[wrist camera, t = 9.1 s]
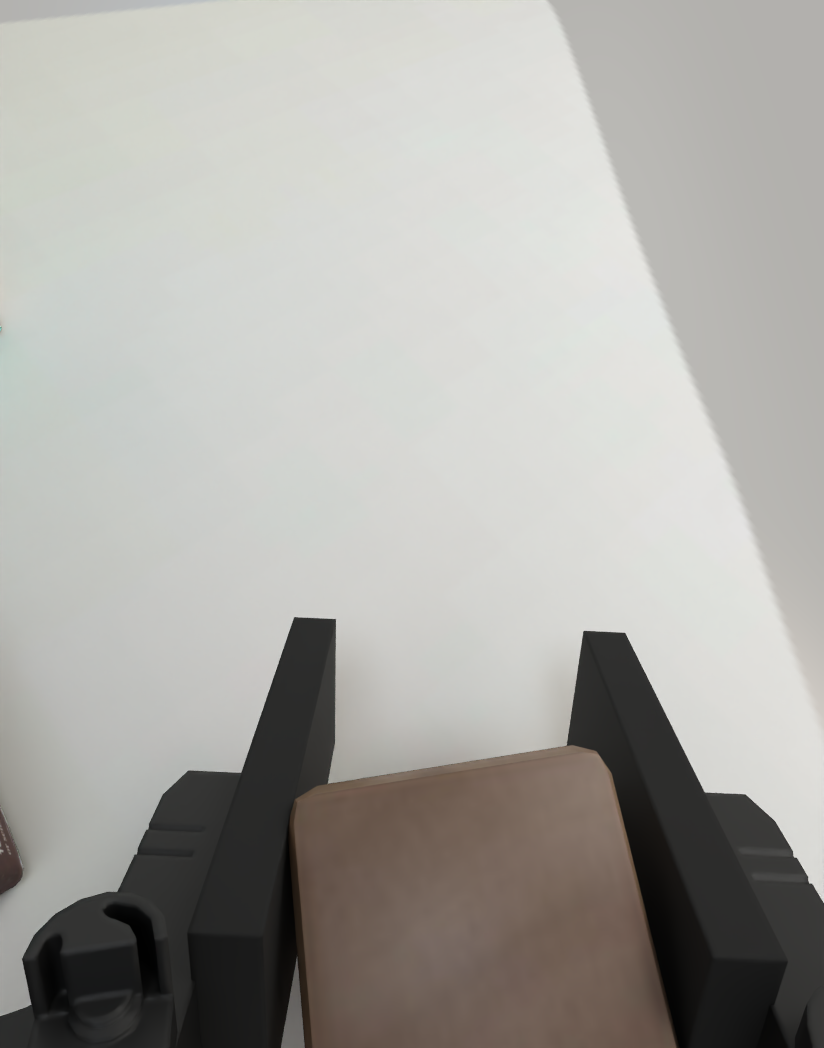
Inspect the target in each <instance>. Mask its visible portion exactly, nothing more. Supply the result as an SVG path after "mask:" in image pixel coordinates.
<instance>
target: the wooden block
mask: <svg viewBox="0 0 824 1048" xmlns="http://www.w3.org/2000/svg"><path fill="white" fill-rule="evenodd" d="M288 844H289V856H290V869H291V881H292V894H293V906H294V918H295V931H296V943H297V956H298V968H299V981H300V993H301V1006H302V1018H303V1031H304V1043H305V1048H679V1044H678V1040H677V1036H676V1032H675V1028H674V1024H673V1020H672V1016H671V1012H670V1008H669V1004H668V1000H667V996H666V992H665V987H664V983H663V979H662V975H661V971H660V967H659V963H658V959H657V955H656V951H655V947H654V943H653V939H652V935H651V931H650V927H649V923H648V919H647V915H646V911H645V907H644V903H643V899H642V895H641V891H640V886H639V882H638V878H637V874H636V870H635V866H634V862H633V858H632V854H631V850H630V846H629V842H628V838H627V834H626V830H625V826H624V822H623V818H622V814H621V810H620V806H619V802H618V798H617V794H616V790H615V785H614V781H613V777H612V773H611V772H610V770H609V769H608V767H607V766H606V764H605V763H604V761H603V760H602V759H601V757H600V756H599V754H598V753H597V751H594V750H590V749H586V748H582V747H578V746H574V745H570V746H564V747H558V748H551V749H545V750H539V751H532V752H526V753H520V754H514V755H507V756H501V757H495V758H488V759H482V760H476V761H470V762H463V763H457V764H451V765H444V766H438V767H432V768H426V769H419V770H413V771H407V772H400V773H394V774H388V775H382V776H375V777H369V778H363V779H357V780H350V781H344V782H338V783H331V784H325V785H319V786H316V787H314V788H313V789H311V790H310V791H308V792H306V793H305V794H303V795H301V796H300V797H298V798H297V799H295V801H294V804H293V808H292V811H291V814H290V820H289V828H288Z"/></svg>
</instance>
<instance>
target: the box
mask: <svg viewBox="0 0 824 1048" xmlns="http://www.w3.org/2000/svg"><path fill="white" fill-rule="evenodd" d="M23 869H24V868H23V863H22V861H21V858H20V855H19V852H18V849H17V847H16V845H15V842H14V840H13V837H12V834H11V831H10V828H9V825H8V823H7V821H6V818H5V815H4V813H3V811H2V808H1V806H0V894H2V893H3V892H5V891H6V890H8V889H10V888H13V887H14V886H15V885H16V884H17V883H18V882H19V881H20V880H21V877H22V874H23Z"/></svg>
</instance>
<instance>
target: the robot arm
mask: <svg viewBox="0 0 824 1048" xmlns="http://www.w3.org/2000/svg"><path fill="white" fill-rule="evenodd" d="M335 651H336V619H319V618H298V617H294V620H293V623H292V625H291V628H290V631H289V634H288V637H287V640H286V643H285V646H284V649H283V652H282V655H281V658H280V661H279V664H278V667H277V670H276V673H275V675H274V678H273V681H272V684H271V687H270V690H269V693H268V696H267V699H266V702H265V705H264V708H263V711H262V714H261V717H260V720H259V722H258V725H257V728H256V731H255V734H254V737H253V740H252V743H251V746H250V749H249V752H248V755H247V758H246V761H245V764H244V767H243V770H242V772H241V773H228V772H207V771H188V772H186V773H185V774H184V775H183V776H182V777H181V778H180V779H179V780H178V781H177V782H176V783H175V784H174V785H173V786H172V787H171V788H169V789H168V790H167V791H166V792H165V793H164V794H163V795H162V798H161V800H160V802H159V804H158V806H157V808H156V810H155V813H154V815H153V817H152V819H151V821H150V823H149V829H148V830H146V832H145V834H144V836H143V838H142V840H141V843H140V845H139V847H138V852H137V855H134V858H133V860H132V862H131V864H130V866H129V868H128V870H127V873H126V875H125V877H124V879H123V881H122V883H121V885H120V888H119V890H118V892H106V893H102V894H98V895H95V896H91V897H88V898H84V899H80V900H79V901H77V902H75V903H74V904H72V905H70V906H68V907H67V908H65V909H63V910H61V911H60V912H58V913H56V914H55V915H54V916H53V917H52V918H51V919H50V920H49V921H48V922H47V923H46V924H45V925H44V926H43V927H42V928H41V929H40V930H39V931H38V932H37V933H36V934H35V935H34V937H33V939H32V941H31V942H30V944H29V946H28V948H27V950H26V952H25V954H24V956H23V958H22V960H23V965H24V970H25V975H26V980H27V985H28V990H29V994H30V999H31V1004H32V1005H30V1006H28V1007H26V1008H23V1009H20V1010H18V1011H15V1012H12V1013H9V1014H6V1015H3V1016H0V1048H281V1043H282V1037H283V1032H284V1026H285V1020H286V1015H287V1009H288V1003H289V998H290V992H291V986H292V981H293V975H294V970H295V964H296V958H297V943H296V931H295V918H294V906H293V894H292V881H291V869H290V856H289V844H288V828H289V820H290V814H291V811H292V808H293V804H294V801H295V799H297V798H298V797H300V796H301V795H303V794H305V793H306V792H308V791H310V790H311V789H313V788H314V787H316V786H319V785H325V784H328V778H329V772H330V767H331V761H332V755H333V750H334V744H335ZM570 745H574V746H578V747H582V748H586V749H590V750H594V751H597V753H598V754H599V756H600V757H601V759H602V760H603V761H604V763H605V764H606V766H607V767H608V769H609V770H610V772H611V773H612V777H613V781H614V785H615V790H616V794H617V798H618V802H619V806H620V810H621V814H622V818H623V822H624V826H625V830H626V834H627V838H628V842H629V846H630V850H631V854H632V858H633V862H634V866H635V870H636V874H637V878H638V882H639V886H640V891H641V895H642V899H643V903H644V907H645V911H646V915H647V919H648V923H649V927H650V931H651V935H652V939H653V943H654V947H655V951H656V955H657V959H658V963H659V967H660V971H661V975H662V979H663V983H664V987H665V992H666V996H667V1000H668V1004H669V1008H670V1012H671V1016H672V1020H673V1024H674V1028H675V1032H676V1036H677V1040H678V1044H679V1048H824V903H823V901H822V900H821V898H820V896H819V895H818V893H817V891H816V890H815V888H814V886H813V885H812V884H809V882H808V876H807V874H806V873H805V871H804V869H803V868H802V866H801V864H800V863H799V861H798V859H797V858H794V857H793V851H792V849H791V847H790V846H789V844H788V842H787V841H786V839H785V837H784V836H783V834H782V832H781V831H780V829H779V827H778V826H777V824H776V822H775V821H774V820H773V819H772V818H771V817H770V816H769V815H767V814H766V813H765V812H764V811H763V810H762V809H761V808H760V807H759V806H758V805H756V804H755V803H754V802H753V801H752V800H751V799H750V798H749V797H748V796H746V795H744V794H723V793H705V792H704V790H703V788H702V786H701V784H700V782H699V780H698V778H697V776H696V774H695V772H694V770H693V768H692V766H691V764H690V762H689V760H688V758H687V756H686V754H685V752H684V750H683V748H682V746H681V744H680V742H679V740H678V738H677V736H676V734H675V732H674V730H673V728H672V726H671V724H670V722H669V720H668V718H667V716H666V714H665V712H664V710H663V708H662V706H661V704H660V702H659V700H658V698H657V696H656V694H655V692H654V690H653V688H652V686H651V684H650V682H649V680H648V678H647V676H646V674H645V672H644V670H643V668H642V666H641V664H640V662H639V660H638V658H637V656H636V654H635V652H634V650H633V648H632V646H631V644H630V642H629V640H628V638H627V636H626V634H625V633H616V632H595V631H584V632H583V639H582V645H581V652H580V659H579V666H578V673H577V680H576V686H575V693H574V700H573V707H572V714H571V721H570V728H569V734H568V741H567V746H570Z"/></svg>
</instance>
